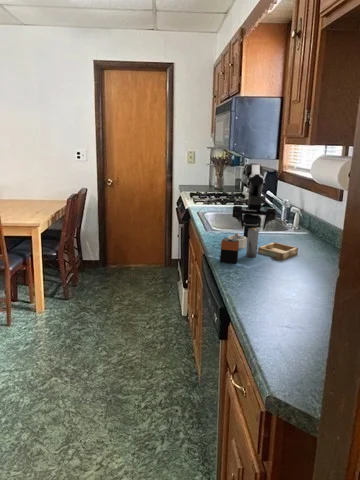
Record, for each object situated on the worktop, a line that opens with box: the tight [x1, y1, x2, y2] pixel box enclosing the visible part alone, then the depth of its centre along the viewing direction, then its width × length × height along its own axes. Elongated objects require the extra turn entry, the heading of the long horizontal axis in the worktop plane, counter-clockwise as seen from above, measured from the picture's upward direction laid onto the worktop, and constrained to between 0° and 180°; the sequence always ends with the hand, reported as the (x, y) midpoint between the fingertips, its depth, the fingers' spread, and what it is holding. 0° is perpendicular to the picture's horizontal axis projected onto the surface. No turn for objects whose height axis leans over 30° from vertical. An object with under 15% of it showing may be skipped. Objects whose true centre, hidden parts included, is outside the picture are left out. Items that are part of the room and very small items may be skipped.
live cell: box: [245, 227, 260, 258], centre depth 173 cm, size 4×4×13 cm
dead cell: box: [234, 232, 242, 239], centre depth 188 cm, size 3×3×6 cm
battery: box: [219, 237, 239, 265], centre depth 166 cm, size 4×7×10 cm, turn 77°
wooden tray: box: [257, 242, 299, 261], centre depth 181 cm, size 14×12×3 cm
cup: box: [227, 234, 247, 250], centre depth 188 cm, size 8×8×5 cm
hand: (253, 228), depth 176 cm, fingers open, 9 cm apart
